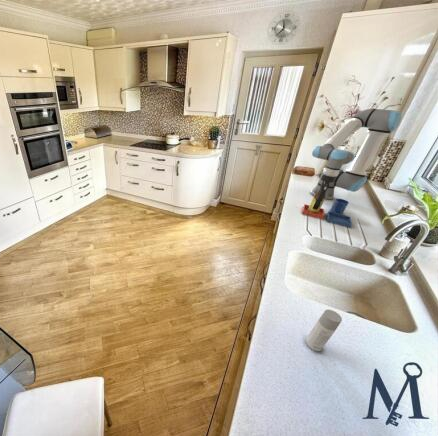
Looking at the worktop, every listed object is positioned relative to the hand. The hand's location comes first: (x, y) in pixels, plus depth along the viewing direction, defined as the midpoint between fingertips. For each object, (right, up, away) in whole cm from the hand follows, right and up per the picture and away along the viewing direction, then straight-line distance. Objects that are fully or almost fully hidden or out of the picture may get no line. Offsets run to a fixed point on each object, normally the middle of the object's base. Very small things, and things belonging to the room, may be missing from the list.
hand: (315, 207), depth 159 cm
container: (-59, -50, -81) cm, 112 cm away
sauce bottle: (0, -3, +2) cm, 4 cm away
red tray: (0, -4, +2) cm, 5 cm away
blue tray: (+11, -9, -6) cm, 15 cm away
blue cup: (+18, -4, +5) cm, 19 cm away
